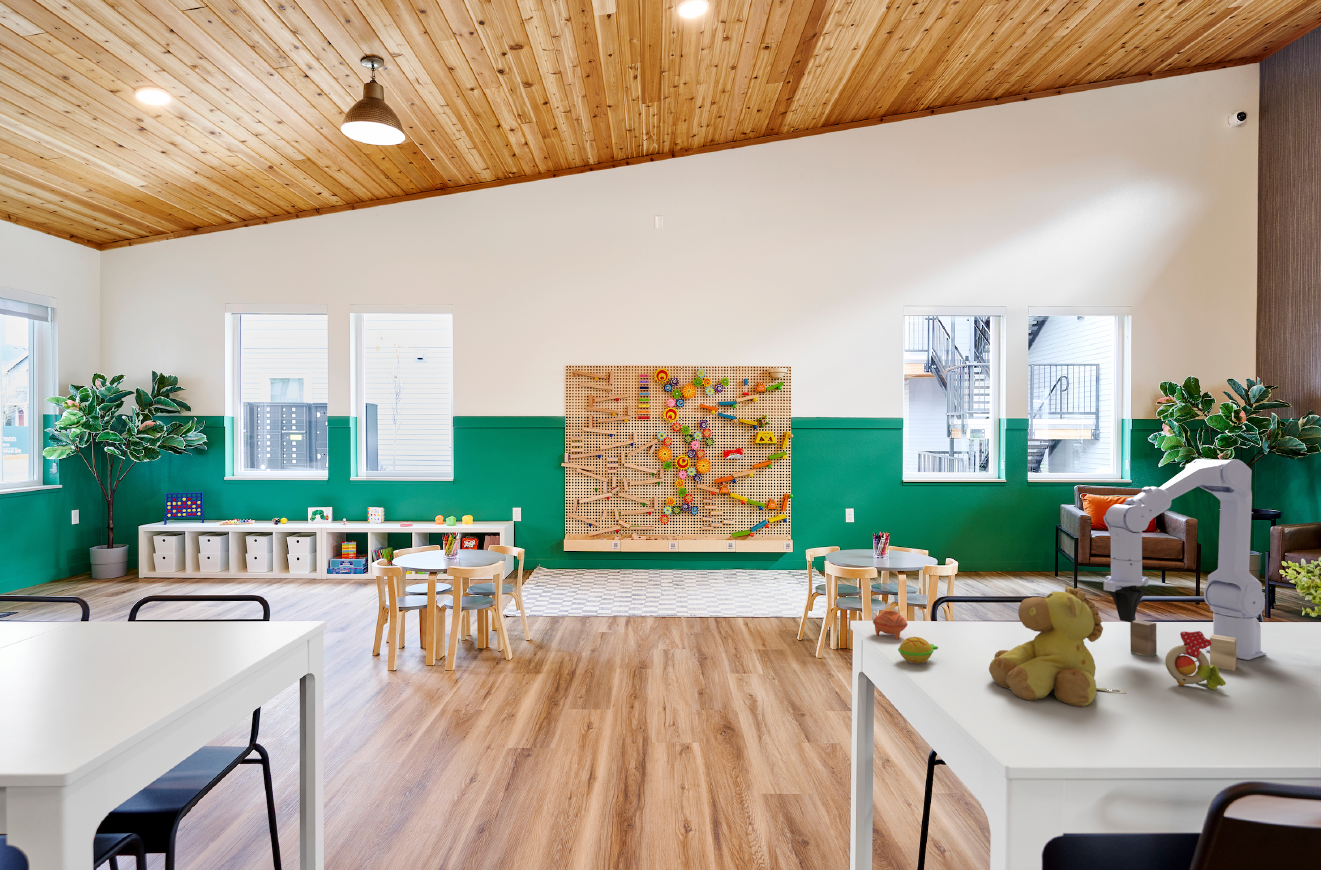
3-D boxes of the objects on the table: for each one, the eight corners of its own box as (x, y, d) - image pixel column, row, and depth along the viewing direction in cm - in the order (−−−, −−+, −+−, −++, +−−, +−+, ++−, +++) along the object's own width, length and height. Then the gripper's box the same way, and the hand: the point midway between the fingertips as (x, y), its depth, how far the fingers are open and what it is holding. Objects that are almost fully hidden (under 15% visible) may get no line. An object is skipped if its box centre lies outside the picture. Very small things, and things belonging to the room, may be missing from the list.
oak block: (1212, 662, 148) (1212, 634, 149) (1236, 666, 146) (1236, 637, 146) (1210, 666, 146) (1209, 637, 146) (1234, 670, 143) (1234, 641, 143)
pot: (876, 639, 163) (874, 610, 165) (872, 638, 171) (870, 610, 173) (911, 639, 162) (909, 610, 164) (905, 639, 170) (903, 610, 171)
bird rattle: (1192, 702, 130) (1240, 685, 129) (1165, 647, 131) (1213, 629, 130) (1172, 690, 136) (1218, 674, 135) (1147, 638, 137) (1192, 621, 136)
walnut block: (1138, 650, 157) (1138, 619, 157) (1156, 654, 154) (1156, 622, 154) (1130, 652, 155) (1130, 621, 155) (1148, 656, 152) (1148, 624, 152)
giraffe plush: (971, 671, 141) (971, 578, 142) (1086, 671, 142) (1085, 578, 142) (1024, 708, 121) (1024, 599, 121) (1158, 709, 121) (1157, 600, 122)
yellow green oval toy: (891, 662, 146) (891, 637, 147) (912, 653, 153) (912, 629, 154) (923, 670, 142) (923, 644, 142) (943, 660, 149) (943, 635, 149)
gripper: (1124, 554, 158) (1124, 613, 158) (1089, 558, 151) (1089, 620, 151) (1158, 558, 152) (1158, 620, 152) (1123, 563, 145) (1123, 627, 145)
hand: (1126, 620), depth 151 cm, fingers closed
